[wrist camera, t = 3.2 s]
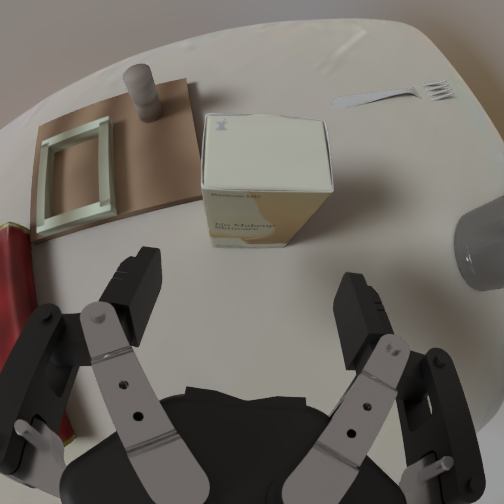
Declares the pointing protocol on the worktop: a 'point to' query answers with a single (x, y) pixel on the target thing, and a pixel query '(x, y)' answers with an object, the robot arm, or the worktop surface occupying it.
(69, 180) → the pin board
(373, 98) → the fork
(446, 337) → the worktop surface
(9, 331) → the hardcover book
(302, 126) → the skincare box
